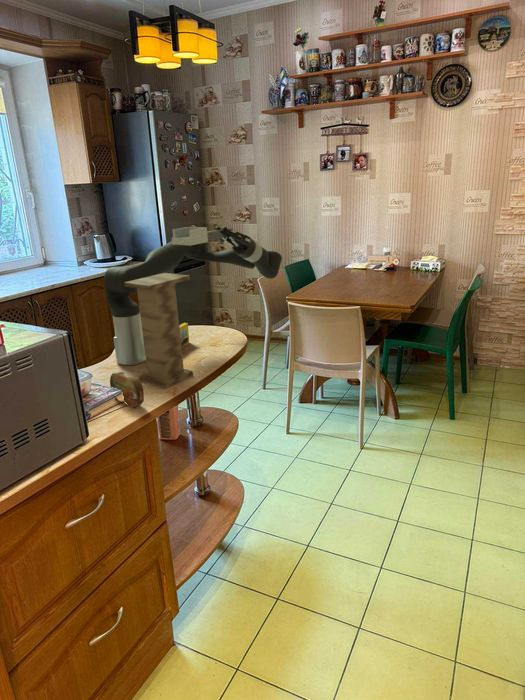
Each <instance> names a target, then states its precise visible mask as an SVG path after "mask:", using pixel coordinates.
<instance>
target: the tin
mask: <svg viewBox="0 0 525 700" xmlns="http://www.w3.org/2000/svg"><path fill="white" fill-rule="evenodd" d="M109 378H110V379H109V386H110V388H111V387H113V388H117V389H119V390H121V391H122V392H123V396H124V400H125V402H126V403H127V404H128V405H129V406H131V407H133V408H134V409H135V407H138V406H141V405H142V404H143V403H144V402H145V401H144V400H145V394H144V392H145V391H144V388H143V385H142V383H141V381H140V380H139V379H138V378H136V377H134V376H133V375H130V374H129V373H125V372H123V371H118V372H114V373H112V374H111V375H110V377H109ZM129 406H128V407H129ZM131 407H130V408H131Z"/></svg>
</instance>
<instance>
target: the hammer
mask: <svg viewBox="0 0 525 700" xmlns="http://www.w3.org/2000/svg"><path fill="white" fill-rule="evenodd" d="M227 228H228V229H229V230H230V231H234V228H232V227H227ZM223 237H227V236H226V235H224V234H223V233H222V228H221V229H219V230H215V229H214V230H208V227H203V226H202V227H201V226H200V227H199V226H187V227H180V228H173V229H172V237H171V241H172V244H175V245H190V246H191V245H196V244H201V243H206V242H207V243H209V241H213V240H218V238H223Z"/></svg>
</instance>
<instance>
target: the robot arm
mask: <svg viewBox="0 0 525 700" xmlns="http://www.w3.org/2000/svg"><path fill="white" fill-rule="evenodd" d="M228 228H229V227H226V226H222V228H221V227H220V226H215V228H214V230H219V229H222V233H223V234H224V235H226V236H227V237H223V238H218V239H217V240H218V241H219V243H221V244H224V242H225V243H226V244H228V245H229V246H231V247H229V248H227V249H224V250H220V251H209V250H207V248H208V242H206V243H201V244H196V245H191V246H190V245H175V244H172V240H171V241H169V242H168V243H165V244H164V245H162V246H159V247H157V248H155V249H153V250H151V252H149V253H148V254H147V255H146V258H145V260H144V262H142V263H140V264H138V265H135V266H130V267H129V266H111V267H109V268H108V269H106V271H105V273H104V276H103V286H104V291H105V292H104V293H105V295H106V300H107V305H108V307H109V310H110V311H111V316H112V322H113V328H114V336H113V345H114V350H115V351H114V352H115V357H116V364H118V365H119V364H120V365H123V366H133V365H139V364H142V363H144V362H146V355H145V347H144V340H143V332H142V324H141V317H140V309H139V303H137V302H135V301H134V300H132V299H131V297H130V296H131V295H132V296H133V295H135V294H137V288H133V287H126V286H125V282H128V281H132V280H136V279H141V278H145V277H149V276H153V275H157V274H162V273H170V272H171V271H172V270H174V269H175V268H176V267H178V265H179V264H180V263H181V262H182V261H183V258H184V256H185V257H187V258H188V259H191V260H194V261H195V260H196V261H202V262H210V263H222V264H223V263H224V264H230V265H234V266H238V267H242V268H247V269H254V268H256V269H257V271H258V272H259V273H260V275H262V276H263V277H265V278H266V279H269V280H270V279H271V280H272V279H274V278H276V277H278V274H279V271H280V267H281V265H282V260H283V259H282V258H283V257H282V255H281V253H279V252H278V251H274V250H267V249H266V248H264V247H263V246H261V245H260V244H259V243H258V242H257V241H255V239H252V237H250V236H248V235H247V234H244V233H242V232H239V231H234V230H233V231H230V230H229V229H228Z"/></svg>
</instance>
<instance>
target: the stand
mask: <svg viewBox="0 0 525 700" xmlns="http://www.w3.org/2000/svg"><path fill="white" fill-rule="evenodd" d="M189 280H191V278H190V275H189V274H187V275H186V274H178V273H170V272H167V273H162V274H157V275H153V276H149V277H145V278H141V279H136V280H132V281H128V282H125V286H126V287H133V288H137V293H136V294H137V300H138V305H139V309H140V317H141V324H142V332H143V340H144V347H145V355H146V360H145V362H146V369H147V372H146V373H143V374H141V375H139V377H138V378H139V379H138V380H139V381H140V382H142V381H143V383H146V384H148V383H149V384H150V385H152V386H155V387H158V388H161V389H168V388H171V387H173V386H175V385H177V384H179V383H181V382H183V381H185V380H187V379H189V378H192V377H194V371H193V370H192V369H191V370H190V369H186V368H184V361H183V347H182V348H181V338H180V328H179V326H180V320H179V311H178V302H177V301H178V300H177V299H178V298H177V293H176V292H177V291H176V284H178V283H182V282H186V281H189ZM149 384H148V385H149Z"/></svg>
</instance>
